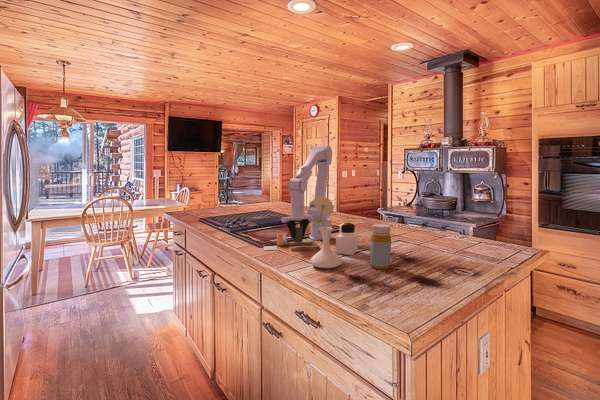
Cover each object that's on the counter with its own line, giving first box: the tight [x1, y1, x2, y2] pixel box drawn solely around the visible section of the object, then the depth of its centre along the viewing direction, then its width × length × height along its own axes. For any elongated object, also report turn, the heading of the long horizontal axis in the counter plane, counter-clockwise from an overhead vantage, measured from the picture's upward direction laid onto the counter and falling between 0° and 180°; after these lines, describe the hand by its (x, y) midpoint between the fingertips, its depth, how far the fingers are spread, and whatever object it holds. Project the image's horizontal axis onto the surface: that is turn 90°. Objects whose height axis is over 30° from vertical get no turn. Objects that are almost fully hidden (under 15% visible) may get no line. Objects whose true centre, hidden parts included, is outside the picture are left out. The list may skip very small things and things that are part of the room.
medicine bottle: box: [335, 222, 359, 256], centre depth 139 cm, size 7×7×12 cm
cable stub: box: [292, 226, 303, 242], centre depth 147 cm, size 4×4×6 cm
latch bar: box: [276, 232, 288, 247], centre depth 155 cm, size 4×10×5 cm, turn 10°
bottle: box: [369, 223, 392, 271], centre depth 120 cm, size 7×7×15 cm
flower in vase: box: [309, 196, 343, 269], centre depth 121 cm, size 13×11×25 cm
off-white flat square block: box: [262, 245, 278, 252], centre depth 145 cm, size 6×6×1 cm
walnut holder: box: [287, 240, 321, 252], centre depth 148 cm, size 12×10×1 cm
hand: (297, 237), depth 147 cm, fingers closed on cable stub, 4 cm apart
